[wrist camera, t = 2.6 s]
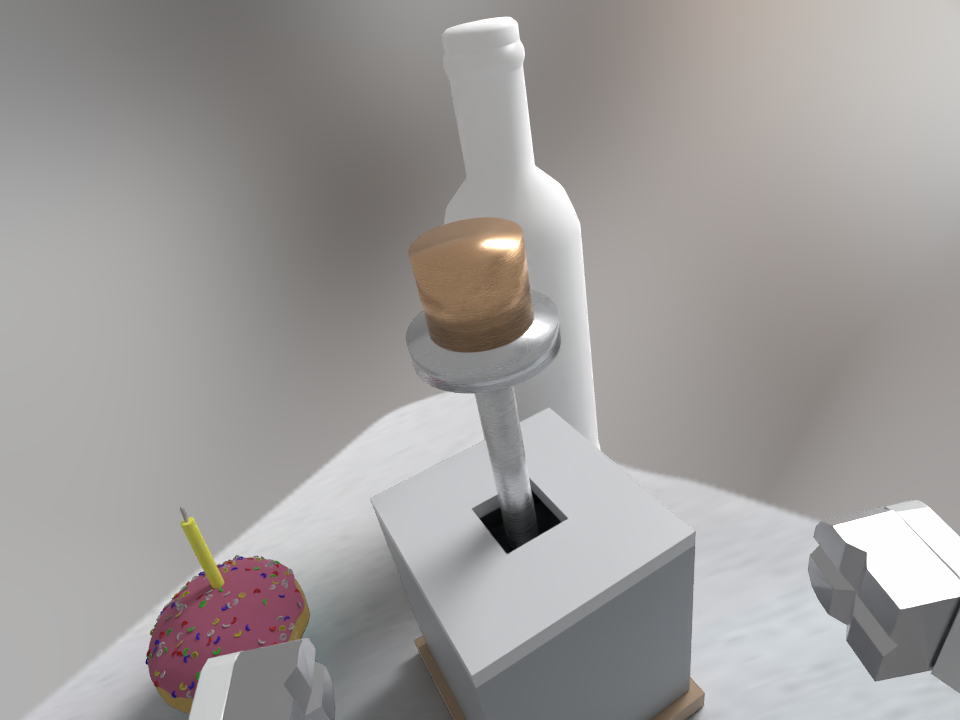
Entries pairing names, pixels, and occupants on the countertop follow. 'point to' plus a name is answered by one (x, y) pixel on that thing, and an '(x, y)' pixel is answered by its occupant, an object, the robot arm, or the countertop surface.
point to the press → (547, 587)
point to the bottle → (521, 206)
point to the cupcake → (221, 617)
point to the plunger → (486, 346)
